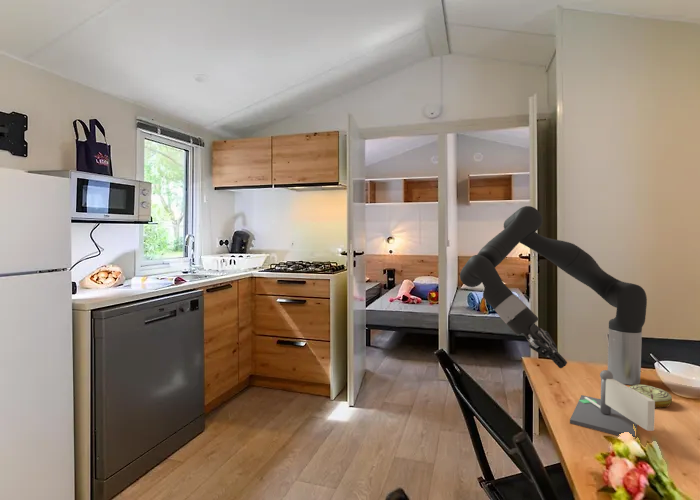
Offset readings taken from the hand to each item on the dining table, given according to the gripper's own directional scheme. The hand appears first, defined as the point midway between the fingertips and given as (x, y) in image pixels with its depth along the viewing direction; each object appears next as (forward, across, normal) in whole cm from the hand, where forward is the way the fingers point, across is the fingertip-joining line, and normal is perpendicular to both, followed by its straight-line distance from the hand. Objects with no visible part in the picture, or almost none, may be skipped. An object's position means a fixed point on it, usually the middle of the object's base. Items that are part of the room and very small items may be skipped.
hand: (564, 365), depth 104 cm
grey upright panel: (+17, -7, -2) cm, 19 cm away
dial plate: (+17, -10, -5) cm, 20 cm away
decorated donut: (+24, -30, +1) cm, 38 cm away
